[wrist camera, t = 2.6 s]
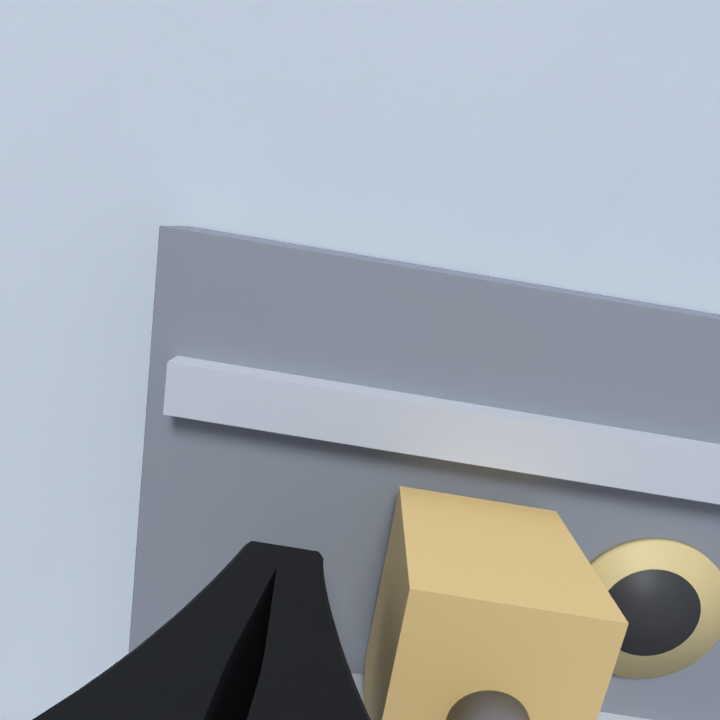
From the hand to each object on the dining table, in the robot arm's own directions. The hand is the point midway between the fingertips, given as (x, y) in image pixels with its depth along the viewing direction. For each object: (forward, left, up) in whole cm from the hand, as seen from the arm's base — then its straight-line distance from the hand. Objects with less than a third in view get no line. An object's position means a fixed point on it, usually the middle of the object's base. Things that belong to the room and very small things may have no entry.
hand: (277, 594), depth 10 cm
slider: (-3, 0, -1) cm, 4 cm away
